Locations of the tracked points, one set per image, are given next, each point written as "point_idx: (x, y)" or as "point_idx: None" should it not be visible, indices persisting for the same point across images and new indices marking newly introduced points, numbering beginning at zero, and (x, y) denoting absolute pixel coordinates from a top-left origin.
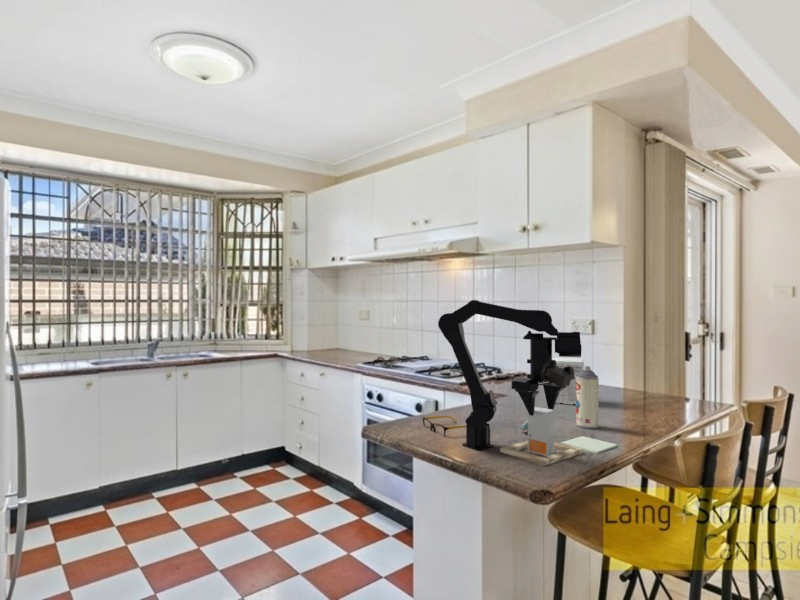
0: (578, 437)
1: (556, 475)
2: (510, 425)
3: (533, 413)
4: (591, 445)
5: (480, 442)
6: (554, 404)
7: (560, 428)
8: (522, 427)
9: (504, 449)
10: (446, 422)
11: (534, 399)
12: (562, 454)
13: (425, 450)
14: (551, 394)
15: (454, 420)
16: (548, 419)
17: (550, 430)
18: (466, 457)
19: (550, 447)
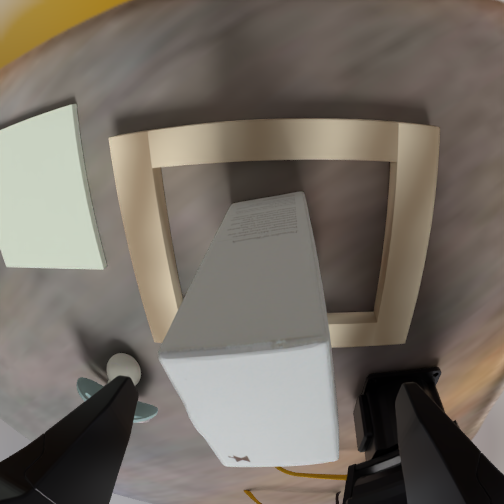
0: (21, 265)
1: (465, 39)
2: (134, 435)
3: (414, 393)
4: (34, 176)
5: (426, 391)
6: (86, 408)
7: (25, 348)
8: (157, 411)
9: (407, 327)
10: (262, 496)
11: (476, 499)
12: (268, 129)
13: (486, 412)
14: (70, 498)
15: (251, 496)
16: (308, 292)
17: (268, 247)
18: (494, 345)
19: (273, 206)
